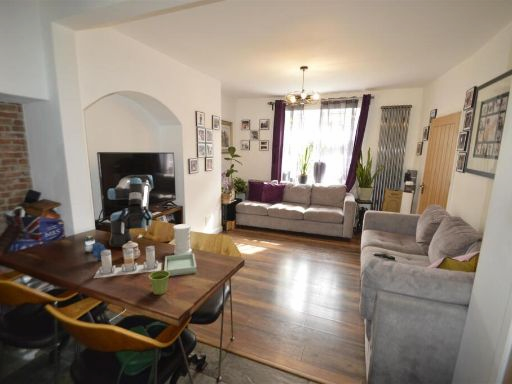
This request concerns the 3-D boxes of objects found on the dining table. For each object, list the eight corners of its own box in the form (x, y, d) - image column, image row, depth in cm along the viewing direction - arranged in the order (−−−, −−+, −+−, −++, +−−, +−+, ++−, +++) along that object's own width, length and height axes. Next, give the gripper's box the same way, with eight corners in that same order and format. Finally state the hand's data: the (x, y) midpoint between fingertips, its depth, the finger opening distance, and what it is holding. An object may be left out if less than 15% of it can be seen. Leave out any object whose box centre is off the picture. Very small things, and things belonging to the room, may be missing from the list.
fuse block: (98, 272, 142) (96, 249, 140) (161, 265, 152) (160, 243, 150) (93, 280, 133) (91, 256, 131) (161, 272, 143) (159, 249, 140)
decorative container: (188, 247, 180) (187, 222, 177) (194, 253, 170) (193, 227, 167) (171, 250, 173) (170, 225, 171) (176, 257, 164) (175, 230, 161)
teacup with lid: (119, 260, 157) (118, 242, 155) (131, 255, 165) (130, 238, 164) (134, 264, 153) (133, 245, 151) (145, 258, 161) (144, 240, 159)
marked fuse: (125, 268, 144) (124, 248, 142) (134, 267, 145) (133, 247, 143) (124, 272, 139) (122, 251, 137) (133, 271, 141) (132, 250, 139)
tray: (165, 261, 157) (165, 256, 157) (194, 258, 162) (193, 253, 162) (164, 276, 139) (164, 270, 138) (196, 272, 144) (196, 266, 143)
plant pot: (163, 284, 131) (162, 268, 129) (174, 291, 125) (173, 274, 123) (145, 292, 123) (144, 275, 122) (156, 299, 117) (155, 281, 116)
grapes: (86, 262, 154) (84, 243, 152) (96, 258, 160) (95, 239, 158) (101, 265, 150) (99, 246, 148) (111, 260, 157) (109, 242, 155)
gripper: (112, 200, 162) (110, 232, 153) (154, 196, 166) (153, 227, 158) (116, 204, 168) (114, 235, 160) (156, 200, 173) (156, 231, 165)
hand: (134, 231), depth 159 cm, fingers open, 13 cm apart
